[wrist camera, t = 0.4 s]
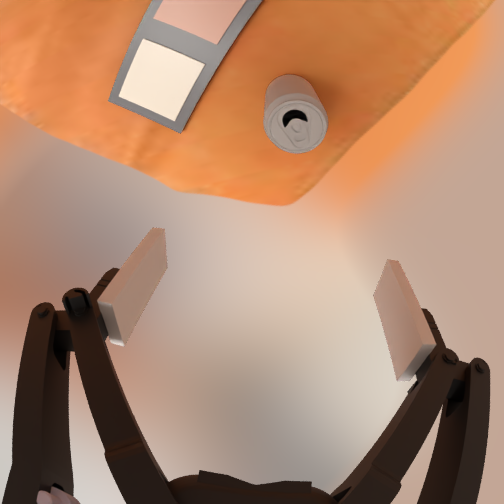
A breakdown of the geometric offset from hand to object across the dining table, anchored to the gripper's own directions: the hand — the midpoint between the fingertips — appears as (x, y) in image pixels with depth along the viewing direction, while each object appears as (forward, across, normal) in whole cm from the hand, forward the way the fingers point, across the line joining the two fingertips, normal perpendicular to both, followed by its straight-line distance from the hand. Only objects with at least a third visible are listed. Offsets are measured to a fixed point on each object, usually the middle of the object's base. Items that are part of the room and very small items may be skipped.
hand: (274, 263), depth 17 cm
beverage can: (+26, 0, +8) cm, 28 cm away
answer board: (+23, -14, +15) cm, 31 cm away
